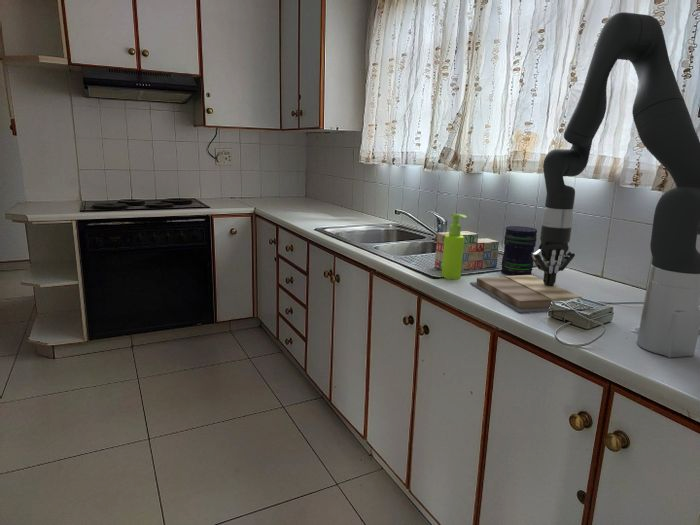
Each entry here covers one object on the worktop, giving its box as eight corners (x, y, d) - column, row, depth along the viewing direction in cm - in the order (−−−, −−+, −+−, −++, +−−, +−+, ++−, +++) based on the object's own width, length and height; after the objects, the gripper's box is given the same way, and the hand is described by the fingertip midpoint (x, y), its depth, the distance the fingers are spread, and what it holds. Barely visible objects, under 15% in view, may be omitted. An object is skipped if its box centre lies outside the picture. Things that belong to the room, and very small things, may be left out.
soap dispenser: (453, 281, 144) (459, 216, 139) (437, 275, 149) (442, 213, 144) (466, 278, 147) (472, 215, 142) (450, 273, 152) (456, 212, 148)
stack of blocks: (485, 263, 168) (488, 229, 165) (496, 267, 163) (500, 232, 160) (434, 267, 160) (436, 231, 157) (444, 272, 155) (447, 235, 152)
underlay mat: (594, 309, 122) (595, 307, 121) (519, 313, 116) (519, 311, 116) (534, 281, 146) (534, 279, 146) (469, 284, 141) (470, 282, 141)
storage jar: (517, 268, 162) (522, 225, 158) (538, 275, 153) (544, 230, 150) (494, 270, 158) (498, 226, 155) (514, 278, 149) (520, 231, 146)
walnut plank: (549, 306, 121) (550, 299, 120) (518, 308, 118) (519, 301, 118) (503, 283, 141) (504, 276, 141) (476, 284, 139) (477, 277, 139)
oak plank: (581, 304, 123) (582, 297, 122) (551, 306, 121) (552, 298, 120) (530, 281, 143) (531, 274, 143) (504, 282, 141) (505, 276, 141)
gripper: (543, 227, 123) (536, 290, 127) (587, 226, 126) (578, 288, 130) (527, 222, 130) (520, 282, 134) (568, 221, 133) (560, 280, 137)
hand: (548, 285), depth 132 cm, fingers closed
